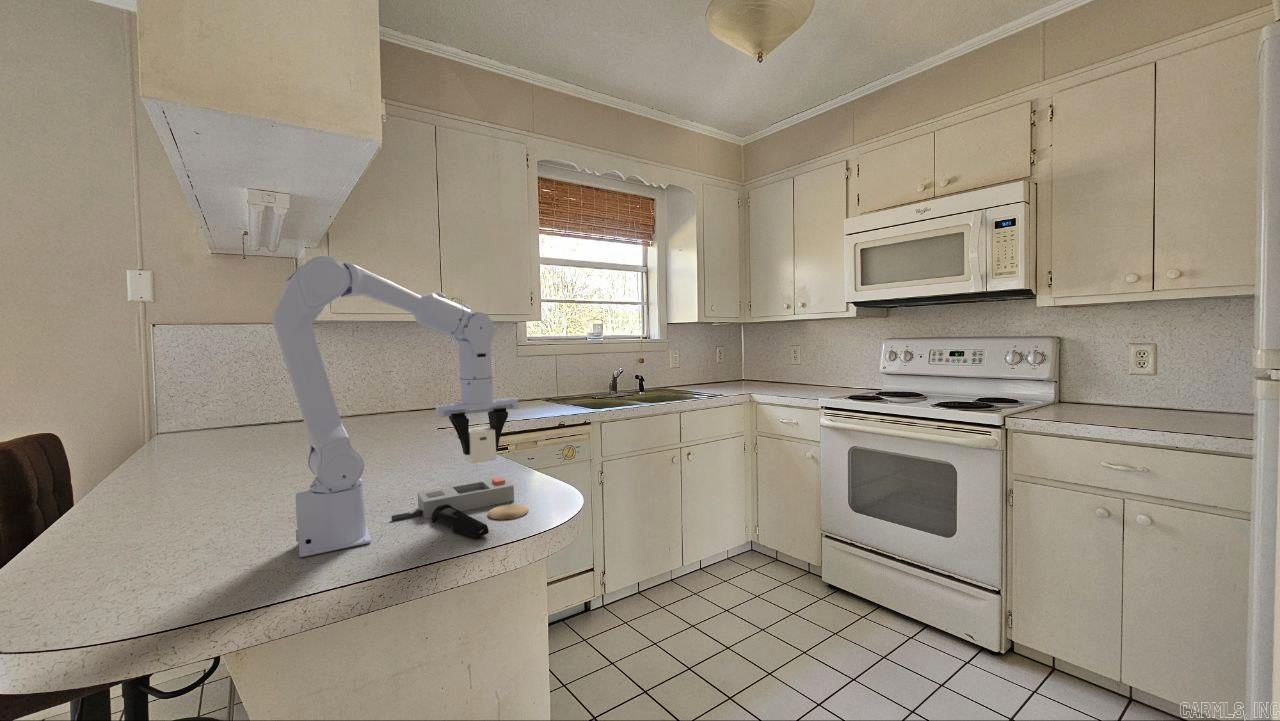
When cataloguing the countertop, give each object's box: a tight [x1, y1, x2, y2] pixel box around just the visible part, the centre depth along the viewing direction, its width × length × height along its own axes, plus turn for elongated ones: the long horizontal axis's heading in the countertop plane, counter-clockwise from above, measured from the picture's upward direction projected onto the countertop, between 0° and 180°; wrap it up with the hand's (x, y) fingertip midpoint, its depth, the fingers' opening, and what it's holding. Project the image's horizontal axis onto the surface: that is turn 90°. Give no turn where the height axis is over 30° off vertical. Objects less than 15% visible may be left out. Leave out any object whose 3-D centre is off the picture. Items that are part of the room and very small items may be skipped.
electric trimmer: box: [430, 504, 490, 539], centre depth 89 cm, size 4×16×3 cm, turn 44°
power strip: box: [390, 477, 515, 522], centre depth 101 cm, size 21×7×4 cm, turn 121°
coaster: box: [487, 503, 529, 521], centre depth 96 cm, size 7×7×1 cm
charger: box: [464, 426, 497, 464], centre depth 100 cm, size 4×5×6 cm
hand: (480, 451), depth 100 cm, fingers closed on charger, 4 cm apart
